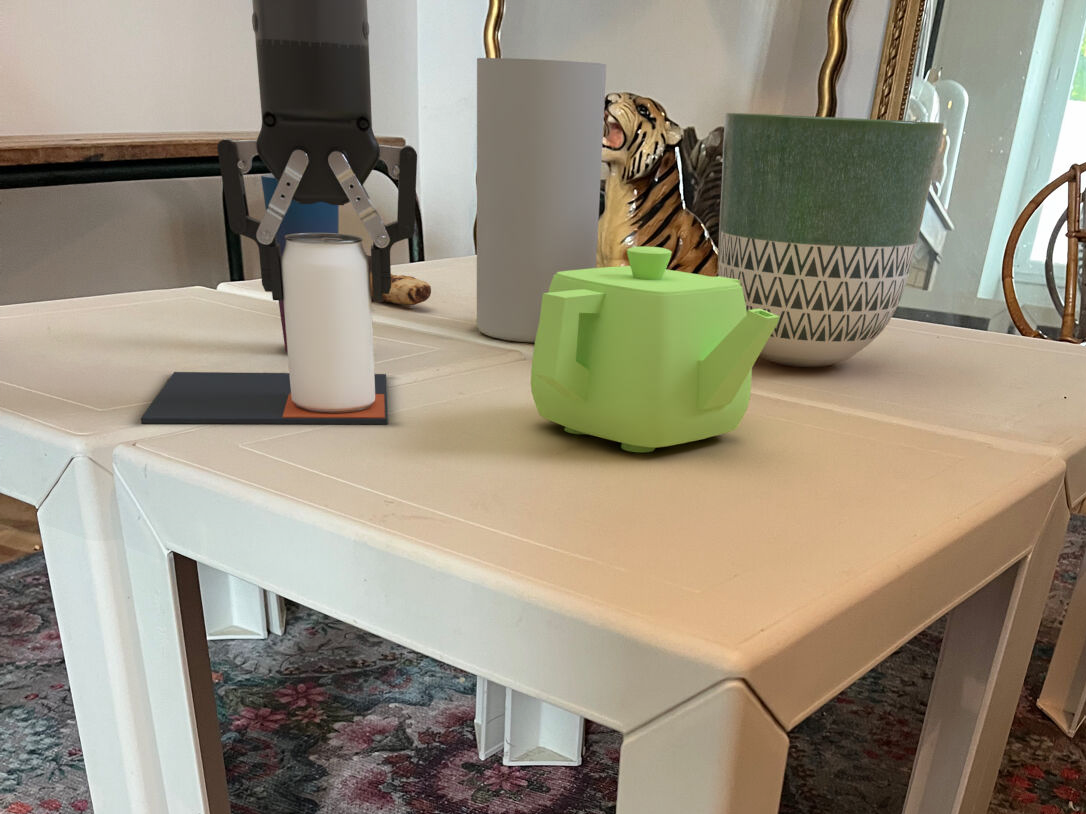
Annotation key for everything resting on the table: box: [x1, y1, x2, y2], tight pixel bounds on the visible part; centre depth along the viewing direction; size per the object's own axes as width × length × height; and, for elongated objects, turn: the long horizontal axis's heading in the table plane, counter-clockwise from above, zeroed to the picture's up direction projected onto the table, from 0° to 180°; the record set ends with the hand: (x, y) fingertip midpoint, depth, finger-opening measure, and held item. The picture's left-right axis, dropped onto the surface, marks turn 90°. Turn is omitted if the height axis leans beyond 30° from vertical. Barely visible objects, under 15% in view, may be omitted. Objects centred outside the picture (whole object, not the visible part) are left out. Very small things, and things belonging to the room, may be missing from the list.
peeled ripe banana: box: [366, 254, 432, 306], centre depth 133 cm, size 9×5×18 cm
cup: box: [260, 173, 340, 353], centre depth 104 cm, size 7×7×15 cm
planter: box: [717, 112, 945, 368], centre depth 107 cm, size 20×20×21 cm
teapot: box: [530, 246, 780, 453], centre depth 81 cm, size 18×20×13 cm
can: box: [281, 233, 375, 413], centre depth 85 cm, size 6×6×12 cm
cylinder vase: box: [476, 57, 607, 344], centre depth 115 cm, size 12×12×25 cm
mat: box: [140, 371, 389, 425], centre depth 91 cm, size 18×16×1 cm
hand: (328, 299), depth 84 cm, fingers open, 6 cm apart
